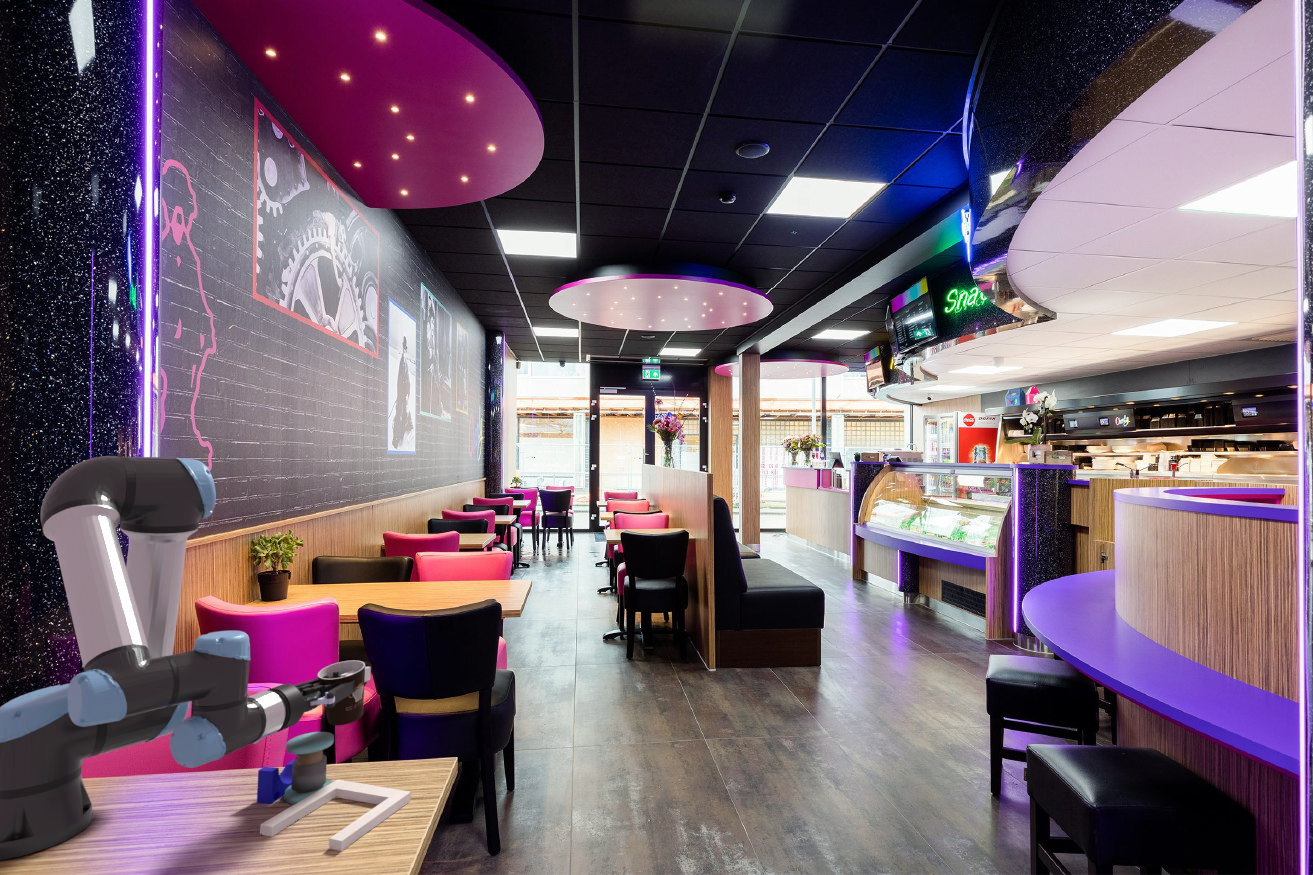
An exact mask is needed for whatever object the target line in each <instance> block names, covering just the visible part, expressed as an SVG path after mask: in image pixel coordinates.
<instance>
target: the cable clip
mask: <svg viewBox="0 0 1313 875" xmlns="http://www.w3.org/2000/svg"><path fill="white" fill-rule="evenodd" d="M296 759H297V754H295V758H294V759H293V760H291V761H290V762H288V763H286V764H285V766H284V768H283V770H282V771H281V773H280V770H279V767H272V766H270V767H269V766H263V767H261V768H260V769H258V771H257V773H258V774H257V794H256V804H265V805H272V804H274V803H275V802H276V801H278V800H280V799H282V797H284V793H285V790H286V789H287V788H288V787H289V786H290V785H291V784H292V763H293V761H295V760H296Z"/></svg>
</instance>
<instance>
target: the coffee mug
mask: <svg viewBox="0 0 1313 875" xmlns="http://www.w3.org/2000/svg"><path fill="white" fill-rule="evenodd" d="M366 665H367V667H371V672H372V671H373V667H372V663H371V662H370V661H361V660H354V659H353V660H345V661H340V662H339V661H338V662H335V663H332V664H329V665H328V666H325V667H323V668H322V669H320V670H319V671H318V673H317V678H318V679H319V682H322V683H323V686H324V685H327V684H329V683H337V686H339V685H340V684H342V683H344V682H349V681H353V680H354V681H355V682H354V684H355V690H356V691H355V692H354V693H352V694H351V695H349V696H347V697H346V698H344V699H343V700H341V701H339V702H338V703H336V704H335V705H334V707H333V708H326V706H325V704H323V706H324V709H325V710H324V711H325V713H326V718H327V723H328V724H329V725H331V726H337V727H339V726H345V725H348V724H352V723H354V722H357V721H358V720H360V718H362V717H363V715H364V699H365V687H366V684H367V683H368V681H366V682H364V680H365V666H366ZM352 670H354V671H358V672H356V673H354V674H351V675H348V676H345V677H341V678H334V679H326V678H322V677H324V676H329V678H330V677H333V672H339V676H340V675H342V674H344V673H347V672H349V671H352ZM371 674H372V673H371ZM371 674H370V676H371ZM354 684H353V685H354Z"/></svg>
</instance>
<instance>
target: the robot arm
mask: <svg viewBox="0 0 1313 875" xmlns="http://www.w3.org/2000/svg"><path fill="white" fill-rule="evenodd" d="M216 494H217V492H216V485H215V482H214V478H213V475H212V473H211V471H210V469H209V467H208V466H207V465H206V464H205V463H204V462H202V461H200V460H198V459H192V458H181V457H174V456H173V457H168V456H167V457H165V456H160V457H159V456H158V457H156V456H155V457H154V456H118V455H117V456H116V455H105V456H98V457H91V458H89V459H86V460H83V461H80V462H79V463H76V464H74V465H72V466H71V467H70V468H69V469H67V470H65V471H64V472H63V473H62V474H60V475H59V476H58V477H57V478H56V479H55V480H54V482H53V483H52V484H51V485H50V487H49V489H48V490H47V492H46V493H45V496H44V498H43V500H42V504H41V508H40V523H41V528H42V532H43V535H44V536H45V537H46V538H47V539H49V541H52V542H54V547H55V550H56V554H57V558H58V563H59V566H60V572H61V576H62V580H63V586H64V590H65V592H66V593H65V594H66V599H67V602H68V606H69V610H70V616H71V618H72V624H73V628H74V632H75V636H76V641H77V645H78V649H79V653H80V658H81V662H82V663H81V664H82V667H83V672H80V673H78V674H76V675H74V676H73V677H72V679H71V680H70V683H65V684H62V685H59V684H57V685H53V686H47V687H44V688H40V689H37V690H34V691H33V690H32V691H31V692H28V693H27V692H26V693H25V694H23V695H19V696H18V697H15V698H12V699H10V700H9V701H8V702H6V703H4V704H3V705H1V706H0V861H3V860H9V859H15V858H18V857H22V856H26V855H29V854H33V853H36V852H39V851H43V850H45V849H48V848H51V847H53V846H56V845H59V844H60V843H63V842H65V841H68V840H70V839H72V838H73V837H75V836H76V835H78V834H80V833H81V832H83V831H84V830H85V829H86V828H87V827H89V825H91V822H92V820H93V804H92V801H91V799H90V796H89V794H88V791H87V789H86V786H85V783H84V780H83V778H82V770H83V769H82V767H83V761H84V760H85V759H88V758H92V757H95V756H99V755H100V756H101V755H103V754H106V753H110V752H113V751H117V750H120V749H123V748H127V747H131V746H134V745H138V744H142V743H149V742H151V741H155V739H158V738H160V737H164V736H167V735H170V734H171V735H170V738H169V749H170V752H171V756H172V757H173V759H174V760H175V762H176V763H177V764H178V765H181V766H182V767H185V768H190V769H192V768H198V767H201V766H203V765H206V764H208V763H211V762H213V761H217V760H221V759H222V758H224V757H225V756H227V755H229V754H232V753H233V752H236V751H238V750H241V749H242V748H245V747H246V746H248V745H252V744H253V745H255V744H256V745H257V744H258V743H260V742H259V741H260V740H263V739H265V738H267V737H269V736H271V735H273V734H276V733H279V732H281V731H284V730H286V729H288V728H291V727H293V726H295V725H297V723H299V721H300V720H301V719H302V717H303V715H304V714H305V713H308V712H311V711H313V710H314V709H316V708H318V707H319V706H321V705H322V706H323V705H324V704H325V706H326V708H333V707H334V705H335V704H336V703H338V702H339V701H341V700H343V699H344V698H346V697H347V696H349V695H351V694H352V693H354V692H355V691H356V690H355V684H354V682H355V681H354V680H353V681H349V682H344V683H342V684H340V685H339V686H337V683H329V684H327V685H324V686H323V683H322V682H319V679H318V677H317V678H314V679H311V680H306V681H303V682H299V683H296V684H291V683H284V684H283V683H282V684H280V685H278V686H274V687H272V688H268V689H267V690H262V691H259V692H257V693H255V694H252V695H249V694H248V692H249V691H248V690H249V689H248V687H249V675H250V663H251V644H250V637H249V635H248V634H247V633H246V632H245V631H242V630H220V631H212V632H208V633H207V634H201V635H199V636H198V637H196V639H195V640H194V644H193V646H192V650H190V651H185V652H180V653H175V654H174V646H175V638H176V632H177V631H176V629H177V622H178V614H179V607H180V601H181V600H180V598H181V590H182V585H183V584H182V583H183V575H184V567H185V560H186V559H185V557H186V551H187V543H188V538H189V537H190V536H192V535H193V534H195V533H196V532H197V531H198V530H199V524H200V520H204V519H207V518H208V517H210V516H211V515H212V514H213V511H214V509H215V507H216V502H217V501H216V500H217V499H216V498H217V497H216V496H217V495H216ZM119 525H120V529H119V530H120V531H121V532H122V533H123V534H125V535H126V536H127V537H128V538H129V541H128V548H127V549H128V551H127V558H126V561H125V559H124V558H125V557H124V555H123V551H122V547H121V545H120V540H119V536H118V534H117V530H116V529H117V527H118V526H119ZM125 562H126V563H125ZM356 672H358V671H354V670H352V671H349V672H347V673H344V674H342V675H340V676H339V672H333V677H330V678H329V676H324V677H322V678H326V679H334V678H341V677H345V676H348V675H351V674H354V673H356ZM370 674H372V671H371V667H368V666H366V665H365V680H364V682H366V681H367V682H368V681H370V680H371V675H370ZM353 684H354V685H353ZM190 705H191V708H190ZM325 706H324V707H325ZM189 708H190V716H188V717H187V715H188V711H189Z"/></svg>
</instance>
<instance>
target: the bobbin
mask: <svg viewBox="0 0 1313 875" xmlns="http://www.w3.org/2000/svg"><path fill="white" fill-rule="evenodd" d="M334 736H335V735H334V734H333V733H331V732H328V731H315V732H313V731H312V732H309V733H303V734H299V735H297V736H295V737H293V738H292V737H291V739H289V740H288V741H287V742H286V748H285V749H286V752H287V753H288V754H291V755H297V759H296V758H295V759H296V760H295V761H293V760H292V761H293V763H292V784H291V785H290V786H289V787H288V788H287V789H286V790H285V793H284V796H283V797H284V798H283V800H284V802H285V803H286V804H290V805H295V804H296V803H298V802H300V801H302V800H303V799H305V798H307V797H308V796H310V795H312V794H314V793H315V792H317V791H319V790H320V789H322V788H324V787H326V786H327V785H329V784H331V783H332V782H333V781H332V780H331V779H330V778H327V762H328V761H327V757H328V756H327V755H325V754H324V752H323V751H324V750H326V749H328V748H330V747H331V746H332V745H334V741H335V737H334Z"/></svg>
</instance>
